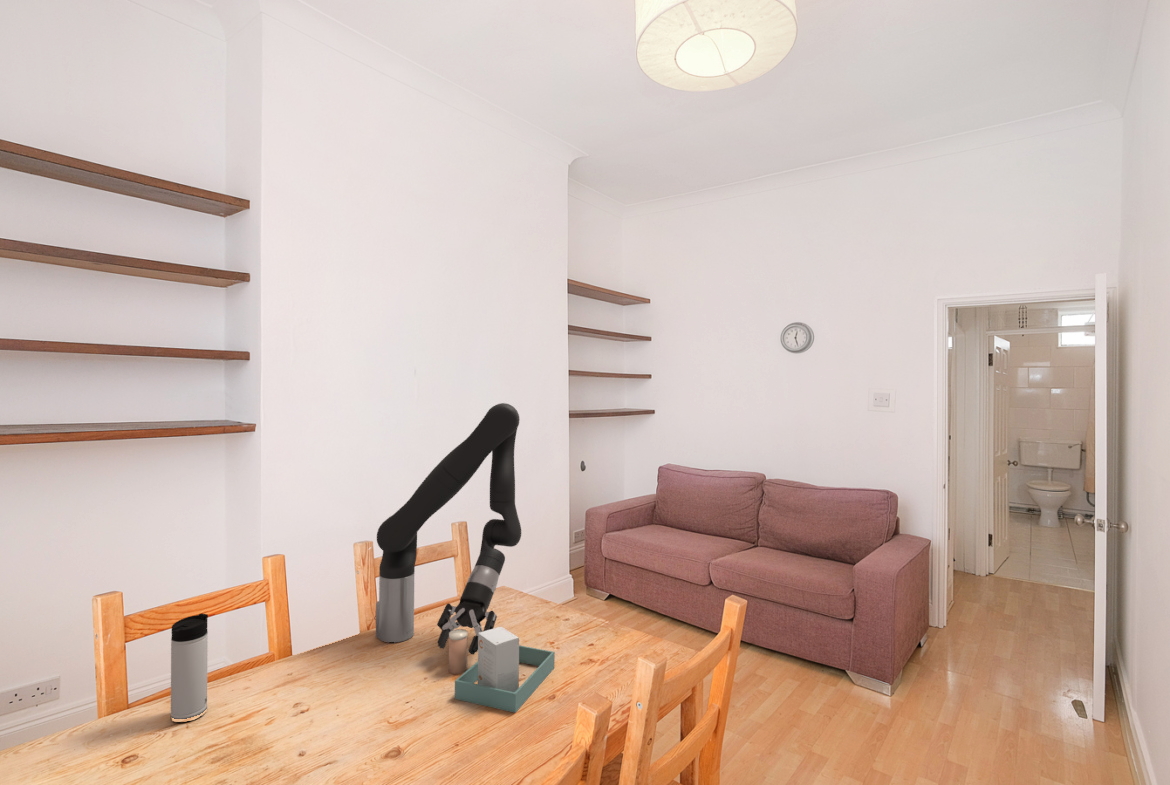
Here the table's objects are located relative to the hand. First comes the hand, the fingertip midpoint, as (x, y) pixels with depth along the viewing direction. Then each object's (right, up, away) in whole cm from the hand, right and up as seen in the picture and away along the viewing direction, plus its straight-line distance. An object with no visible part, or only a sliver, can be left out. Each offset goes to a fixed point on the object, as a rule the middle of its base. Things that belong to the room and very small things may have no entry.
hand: (455, 650), depth 140 cm
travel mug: (-51, -5, -19) cm, 55 cm away
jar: (0, -5, +1) cm, 5 cm away
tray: (+13, -6, -5) cm, 15 cm away
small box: (+11, -6, -9) cm, 16 cm away
